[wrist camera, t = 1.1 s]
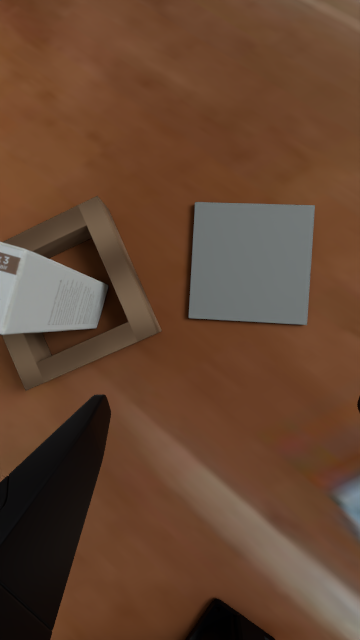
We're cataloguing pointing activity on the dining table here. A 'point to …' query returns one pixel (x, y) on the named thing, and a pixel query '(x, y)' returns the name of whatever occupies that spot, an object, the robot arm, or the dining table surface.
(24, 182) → the dining table surface
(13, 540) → the robot arm
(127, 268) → the walnut collar
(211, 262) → the grey mat
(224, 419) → the dining table surface
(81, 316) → the skincare box
